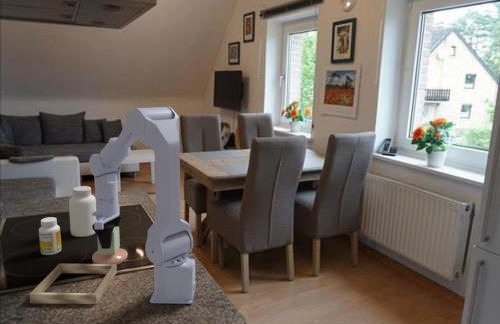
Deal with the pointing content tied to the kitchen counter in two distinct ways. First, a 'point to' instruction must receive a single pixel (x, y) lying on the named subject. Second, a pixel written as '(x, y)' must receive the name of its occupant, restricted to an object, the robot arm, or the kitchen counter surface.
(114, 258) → the coaster
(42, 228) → the supplement bottle
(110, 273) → the crate frame
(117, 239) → the block
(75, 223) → the pill bottle
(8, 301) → the kitchen counter surface
